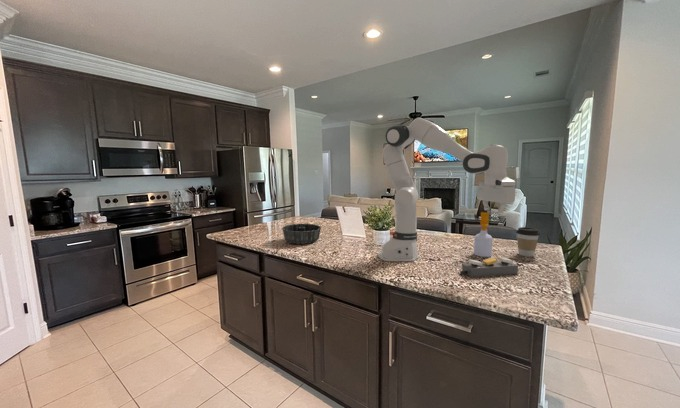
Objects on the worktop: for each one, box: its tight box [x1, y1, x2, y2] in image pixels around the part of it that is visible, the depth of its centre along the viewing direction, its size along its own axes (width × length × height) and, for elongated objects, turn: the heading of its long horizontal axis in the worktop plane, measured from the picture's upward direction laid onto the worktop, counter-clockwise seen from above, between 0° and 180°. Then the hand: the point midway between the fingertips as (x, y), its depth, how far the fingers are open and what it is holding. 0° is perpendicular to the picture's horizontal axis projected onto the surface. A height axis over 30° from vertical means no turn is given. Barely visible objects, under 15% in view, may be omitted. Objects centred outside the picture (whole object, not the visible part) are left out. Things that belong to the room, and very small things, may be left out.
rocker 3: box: [497, 256, 514, 263], centre depth 134 cm, size 5×3×1 cm, turn 101°
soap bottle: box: [473, 211, 493, 258], centre depth 160 cm, size 9×9×25 cm
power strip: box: [459, 260, 519, 278], centre depth 133 cm, size 27×7×5 cm, turn 101°
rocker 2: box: [482, 257, 498, 265], centre depth 133 cm, size 5×3×1 cm, turn 101°
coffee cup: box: [515, 226, 541, 258], centre depth 161 cm, size 11×11×15 cm
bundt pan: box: [281, 223, 322, 245], centre depth 194 cm, size 26×26×10 cm
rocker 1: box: [467, 259, 483, 265], centre depth 132 cm, size 5×3×1 cm, turn 101°
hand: (493, 211), depth 130 cm, fingers open, 7 cm apart
